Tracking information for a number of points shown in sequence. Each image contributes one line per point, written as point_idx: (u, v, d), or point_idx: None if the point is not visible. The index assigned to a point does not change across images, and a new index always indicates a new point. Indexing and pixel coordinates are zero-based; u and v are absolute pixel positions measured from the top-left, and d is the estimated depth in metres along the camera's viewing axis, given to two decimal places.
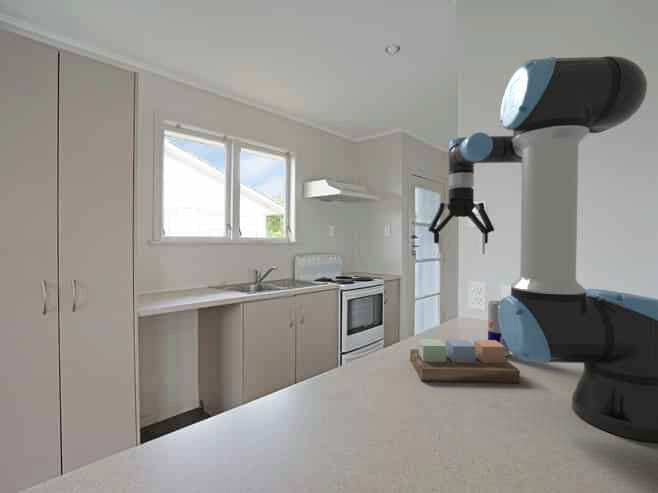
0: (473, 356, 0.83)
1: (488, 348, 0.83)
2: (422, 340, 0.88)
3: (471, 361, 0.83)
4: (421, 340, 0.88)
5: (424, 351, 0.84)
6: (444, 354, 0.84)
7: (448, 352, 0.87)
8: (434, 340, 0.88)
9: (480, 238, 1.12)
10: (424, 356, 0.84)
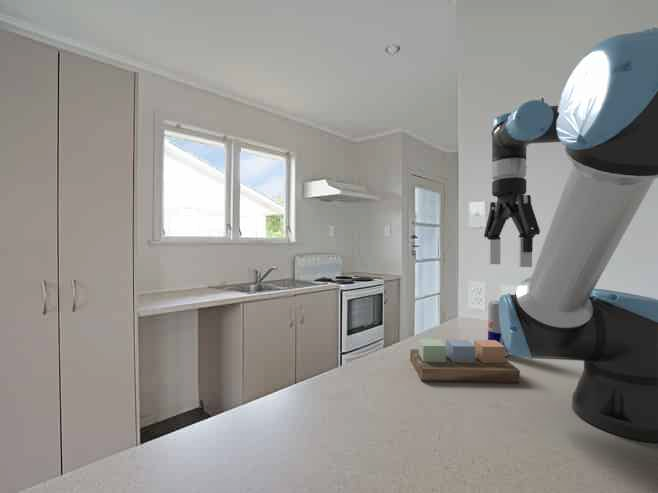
0: (473, 356, 0.83)
1: (488, 348, 0.83)
2: (422, 340, 0.88)
3: (471, 361, 0.83)
4: (421, 340, 0.88)
5: (424, 351, 0.84)
6: (444, 354, 0.84)
7: (448, 352, 0.87)
8: (434, 340, 0.88)
9: None
10: (424, 356, 0.84)
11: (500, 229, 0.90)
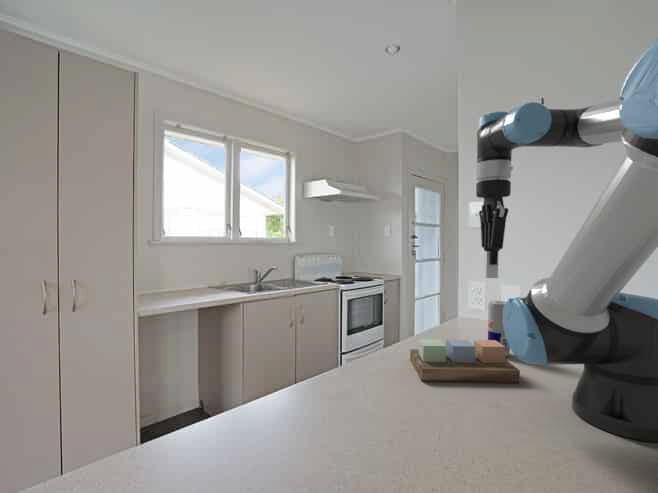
0: (473, 356, 0.83)
1: (488, 348, 0.83)
2: (422, 340, 0.88)
3: (471, 361, 0.83)
4: (421, 340, 0.88)
5: (424, 351, 0.84)
6: (444, 354, 0.84)
7: (448, 352, 0.87)
8: (434, 340, 0.88)
9: None
10: (424, 356, 0.84)
11: None
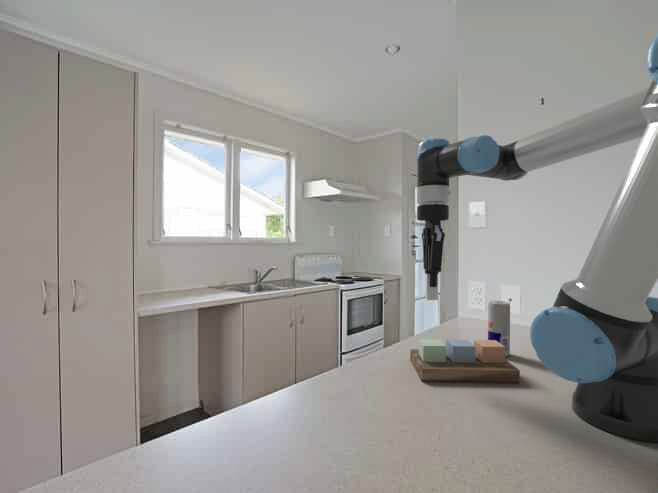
0: (473, 356, 0.83)
1: (488, 348, 0.83)
2: (422, 340, 0.88)
3: (471, 361, 0.83)
4: (421, 340, 0.88)
5: (424, 351, 0.84)
6: (444, 354, 0.84)
7: (448, 352, 0.87)
8: (434, 340, 0.88)
9: None
10: (424, 356, 0.84)
11: None
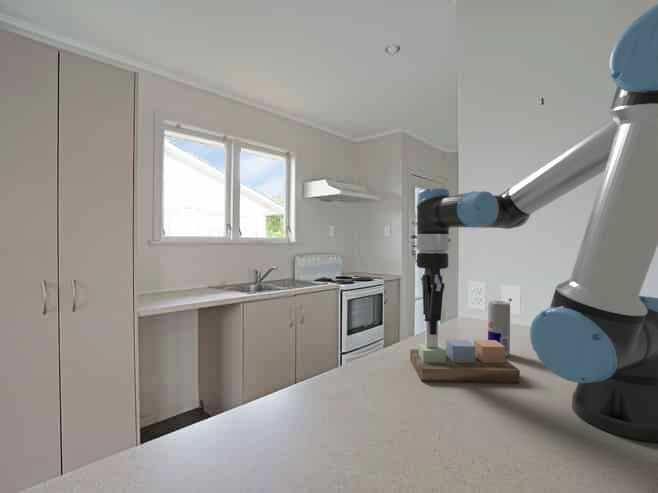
0: (473, 356, 0.83)
1: (488, 348, 0.83)
2: (422, 345, 0.88)
3: (471, 361, 0.83)
4: (421, 345, 0.88)
5: (424, 356, 0.84)
6: (444, 359, 0.84)
7: (448, 352, 0.87)
8: None
9: None
10: (424, 361, 0.84)
11: None
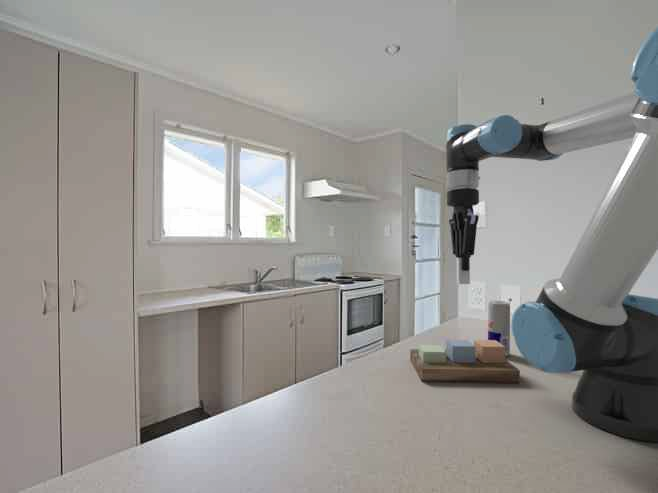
0: (473, 356, 0.83)
1: (488, 348, 0.83)
2: (422, 346, 0.88)
3: (471, 361, 0.83)
4: (421, 346, 0.88)
5: (424, 357, 0.84)
6: (444, 360, 0.84)
7: (448, 352, 0.87)
8: (434, 346, 0.88)
9: None
10: (424, 362, 0.84)
11: None
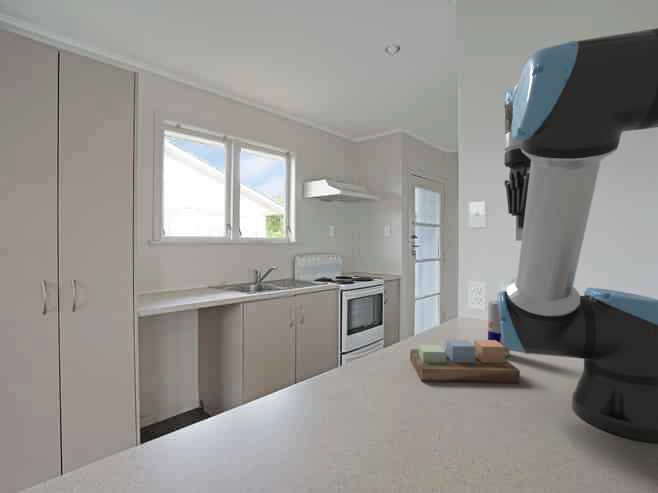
0: (473, 356, 0.83)
1: (488, 348, 0.83)
2: (422, 346, 0.88)
3: (471, 361, 0.83)
4: (421, 346, 0.88)
5: (424, 357, 0.84)
6: (444, 360, 0.84)
7: (448, 352, 0.87)
8: (434, 346, 0.88)
9: None
10: (424, 362, 0.84)
11: None
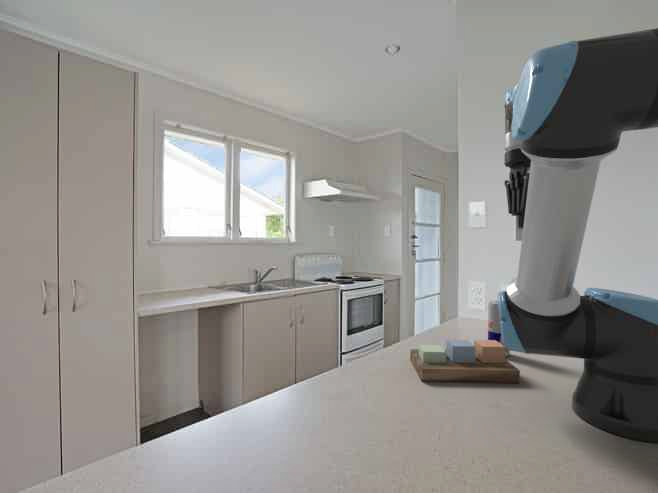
0: (473, 356, 0.83)
1: (488, 348, 0.83)
2: (422, 346, 0.88)
3: (471, 361, 0.83)
4: (421, 346, 0.88)
5: (424, 357, 0.84)
6: (444, 360, 0.84)
7: (448, 352, 0.87)
8: (434, 346, 0.88)
9: None
10: (424, 362, 0.84)
11: None
